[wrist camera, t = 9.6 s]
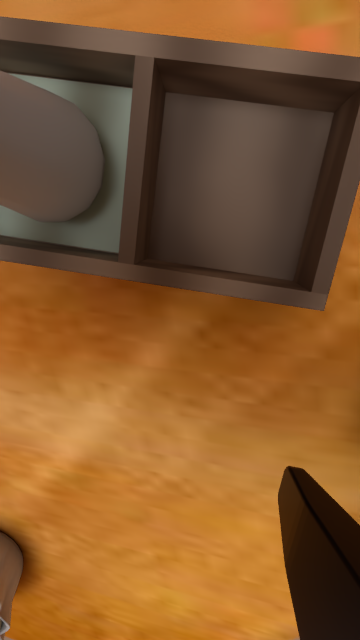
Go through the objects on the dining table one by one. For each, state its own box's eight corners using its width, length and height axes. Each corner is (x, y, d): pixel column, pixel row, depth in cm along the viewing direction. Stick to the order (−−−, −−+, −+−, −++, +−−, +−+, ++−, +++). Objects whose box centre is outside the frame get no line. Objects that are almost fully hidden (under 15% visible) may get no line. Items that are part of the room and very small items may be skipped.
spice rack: (346, 104, 17) (392, 61, 13) (299, 293, 20) (323, 311, 15) (-166, 41, 18) (-281, -16, 14) (-141, 225, 21) (-231, 224, 17)
